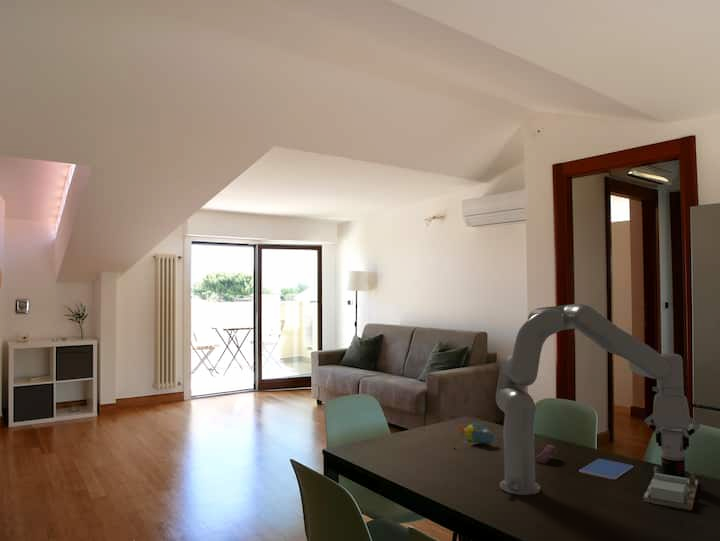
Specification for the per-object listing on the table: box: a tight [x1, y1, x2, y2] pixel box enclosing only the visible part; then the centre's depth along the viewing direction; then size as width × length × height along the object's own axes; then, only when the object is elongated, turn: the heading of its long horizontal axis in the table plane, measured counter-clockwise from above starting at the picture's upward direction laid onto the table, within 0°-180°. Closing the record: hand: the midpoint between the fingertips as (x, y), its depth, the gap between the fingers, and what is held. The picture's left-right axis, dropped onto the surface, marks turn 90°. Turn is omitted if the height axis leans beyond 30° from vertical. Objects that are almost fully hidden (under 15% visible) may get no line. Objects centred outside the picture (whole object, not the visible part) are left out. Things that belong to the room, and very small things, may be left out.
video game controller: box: [534, 444, 558, 463], centre depth 204 cm, size 10×5×7 cm, turn 143°
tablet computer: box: [578, 458, 634, 481], centre depth 193 cm, size 19×13×1 cm, turn 136°
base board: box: [642, 466, 699, 511], centre depth 170 cm, size 27×12×5 cm, turn 145°
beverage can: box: [660, 427, 686, 478], centre depth 176 cm, size 6×7×15 cm
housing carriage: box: [651, 473, 687, 504], centre depth 164 cm, size 10×8×5 cm
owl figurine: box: [458, 422, 498, 445], centre depth 228 cm, size 28×9×15 cm
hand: (672, 446), depth 176 cm, fingers closed on beverage can, 6 cm apart
